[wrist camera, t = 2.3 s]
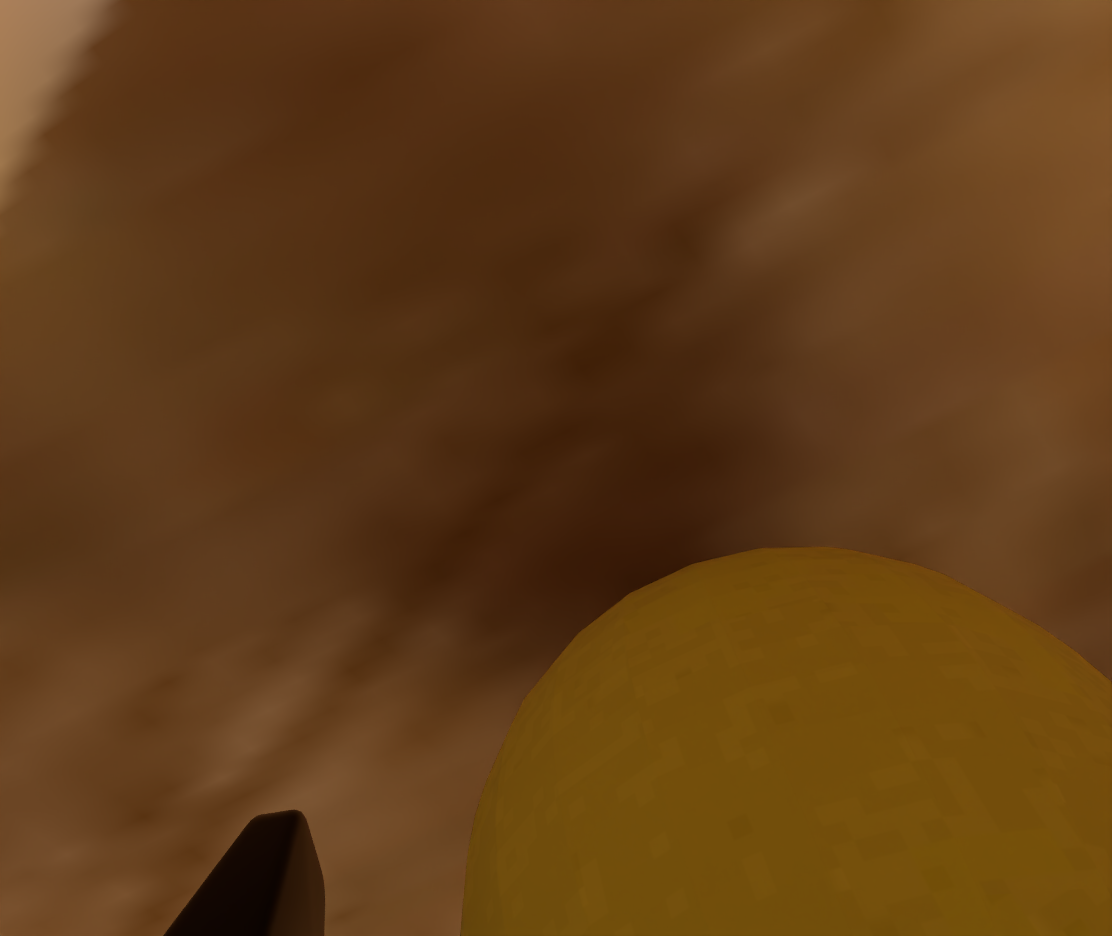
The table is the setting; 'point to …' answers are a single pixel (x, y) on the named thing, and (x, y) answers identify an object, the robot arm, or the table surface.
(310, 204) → the table surface
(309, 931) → the robot arm
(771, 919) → the lemon
